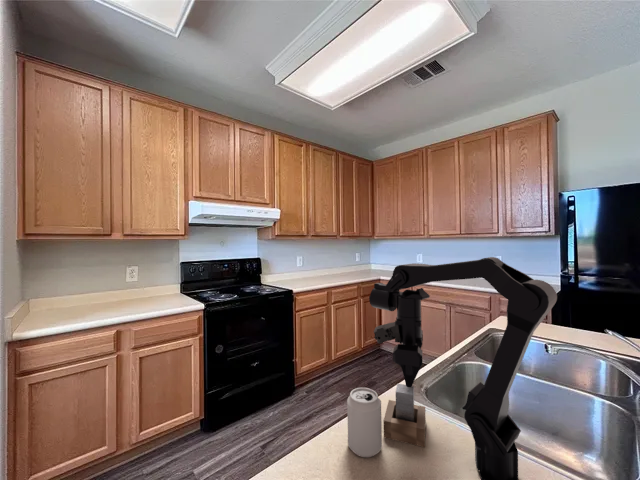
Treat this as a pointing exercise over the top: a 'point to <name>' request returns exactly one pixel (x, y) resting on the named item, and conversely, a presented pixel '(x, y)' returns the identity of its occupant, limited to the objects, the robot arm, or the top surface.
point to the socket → (405, 426)
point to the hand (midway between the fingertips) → (409, 377)
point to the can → (364, 422)
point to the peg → (405, 403)
